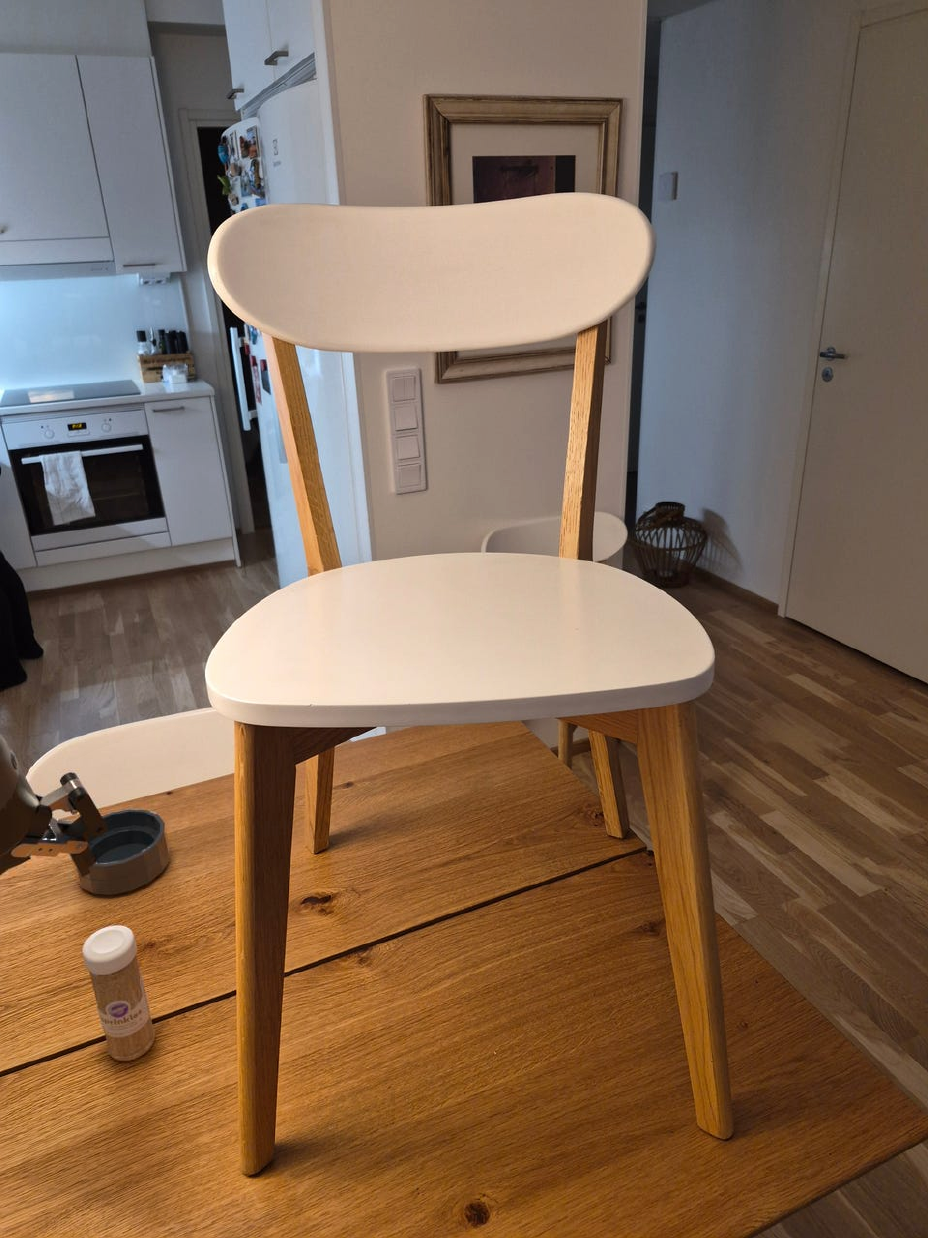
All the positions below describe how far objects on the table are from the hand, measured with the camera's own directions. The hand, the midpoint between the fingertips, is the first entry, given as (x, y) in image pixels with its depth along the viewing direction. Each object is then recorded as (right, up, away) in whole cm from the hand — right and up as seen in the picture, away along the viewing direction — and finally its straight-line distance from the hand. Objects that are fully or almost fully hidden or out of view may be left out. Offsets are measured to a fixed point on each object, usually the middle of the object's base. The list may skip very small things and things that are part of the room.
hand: (29, 898), depth 66 cm
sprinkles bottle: (+2, -20, +17) cm, 26 cm away
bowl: (-9, -10, +41) cm, 43 cm away
